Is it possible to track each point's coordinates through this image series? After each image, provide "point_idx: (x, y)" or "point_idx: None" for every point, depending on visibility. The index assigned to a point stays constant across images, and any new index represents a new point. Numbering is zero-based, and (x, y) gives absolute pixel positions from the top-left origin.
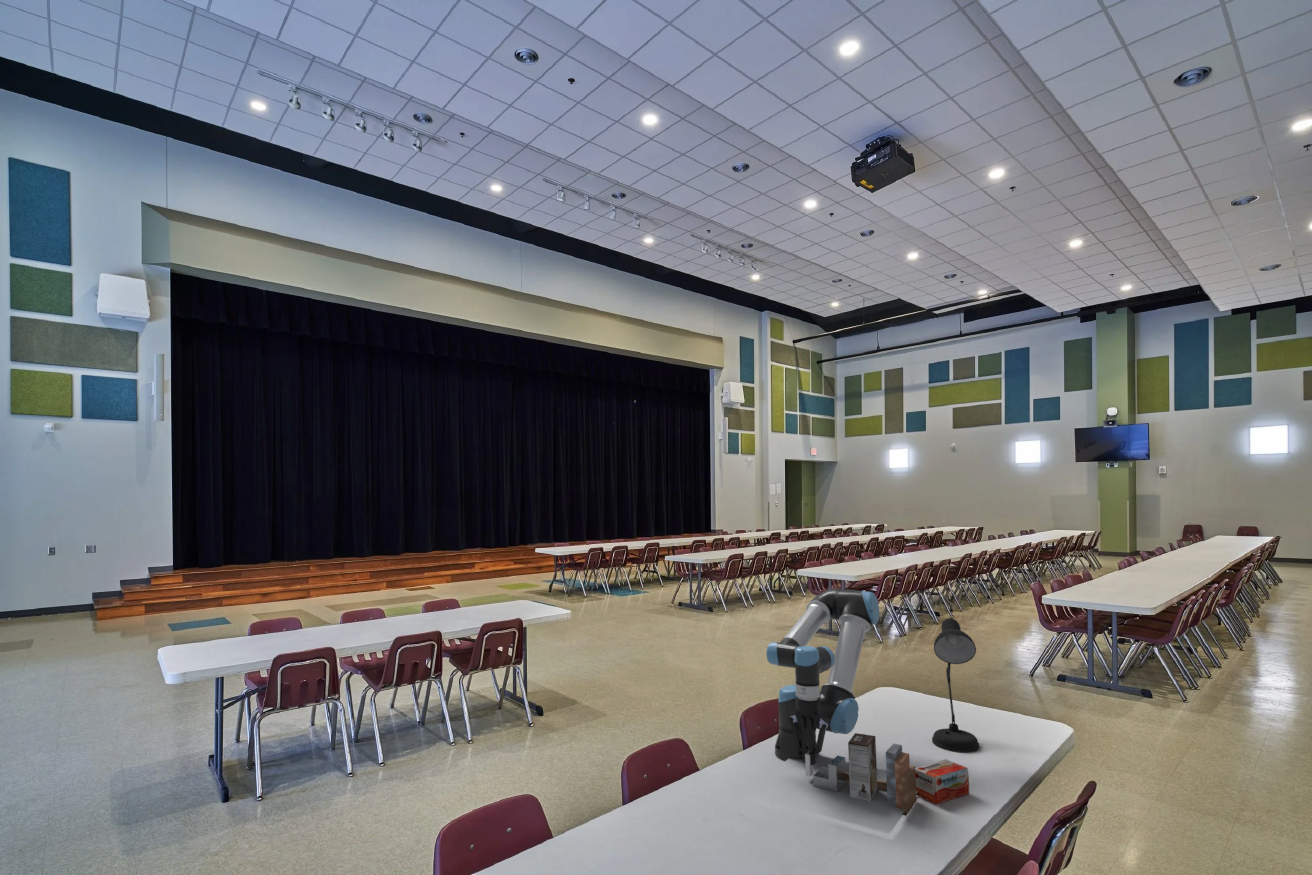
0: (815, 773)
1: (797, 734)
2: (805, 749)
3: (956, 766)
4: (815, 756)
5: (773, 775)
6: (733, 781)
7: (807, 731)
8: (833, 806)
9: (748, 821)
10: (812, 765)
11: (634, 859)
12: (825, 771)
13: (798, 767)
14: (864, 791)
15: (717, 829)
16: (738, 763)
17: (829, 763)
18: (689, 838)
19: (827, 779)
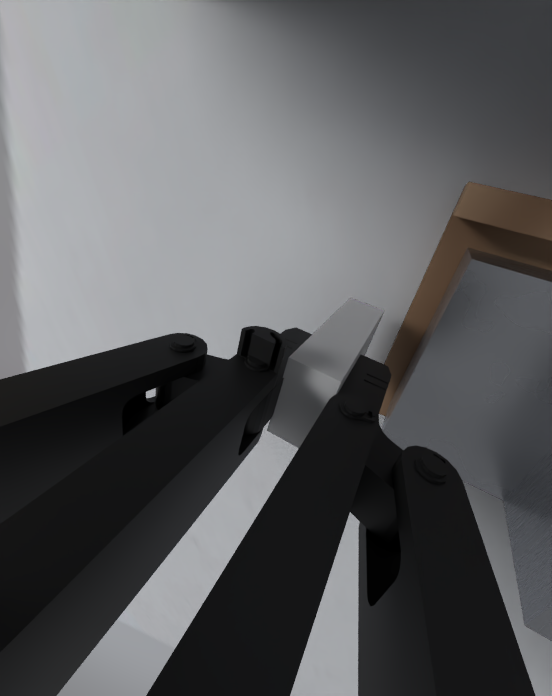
0: (396, 407)
1: (20, 505)
2: (249, 449)
3: None
4: (379, 407)
5: (182, 257)
6: (99, 352)
7: (52, 620)
8: (499, 553)
9: (219, 572)
10: (365, 345)
11: (126, 617)
12: (491, 364)
13: (272, 50)
14: None
15: (178, 583)
16: (33, 169)
17: (544, 615)
18: (154, 595)
19: (491, 490)
